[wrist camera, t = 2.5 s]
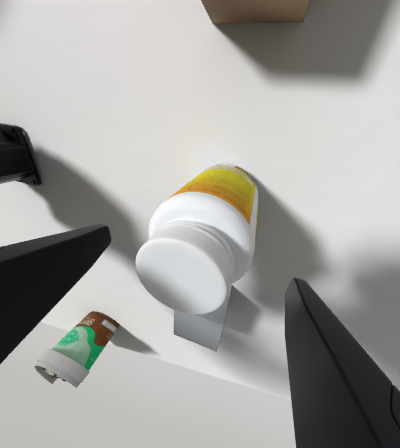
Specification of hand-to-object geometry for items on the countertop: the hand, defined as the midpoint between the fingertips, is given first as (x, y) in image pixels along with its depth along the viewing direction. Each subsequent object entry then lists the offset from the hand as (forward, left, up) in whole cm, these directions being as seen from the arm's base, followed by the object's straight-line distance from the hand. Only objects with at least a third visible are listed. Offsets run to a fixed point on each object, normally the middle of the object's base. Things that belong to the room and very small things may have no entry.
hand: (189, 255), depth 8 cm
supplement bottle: (0, 0, -9) cm, 9 cm away
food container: (-22, -32, -9) cm, 39 cm away
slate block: (0, -13, -9) cm, 16 cm away
